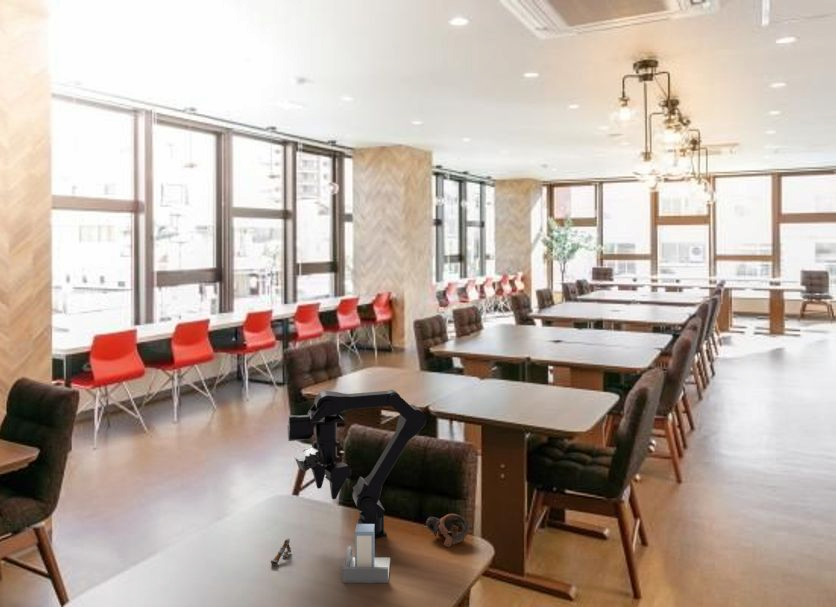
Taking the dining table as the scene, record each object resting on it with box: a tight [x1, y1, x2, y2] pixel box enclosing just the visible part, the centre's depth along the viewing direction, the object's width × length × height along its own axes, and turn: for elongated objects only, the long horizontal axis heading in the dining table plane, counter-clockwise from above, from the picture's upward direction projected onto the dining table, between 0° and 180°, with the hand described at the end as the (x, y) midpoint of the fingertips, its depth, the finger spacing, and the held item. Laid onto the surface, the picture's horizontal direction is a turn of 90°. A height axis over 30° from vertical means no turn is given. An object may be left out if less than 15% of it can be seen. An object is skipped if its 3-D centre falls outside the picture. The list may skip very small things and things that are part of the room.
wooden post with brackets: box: [270, 538, 292, 567], centre depth 173 cm, size 2×8×4 cm, turn 160°
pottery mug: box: [425, 513, 470, 548], centre depth 185 cm, size 12×9×8 cm
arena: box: [342, 545, 391, 584], centre depth 167 cm, size 12×11×4 cm
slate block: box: [354, 523, 376, 567], centre depth 166 cm, size 5×4×11 cm
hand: (326, 493), depth 184 cm, fingers open, 9 cm apart
